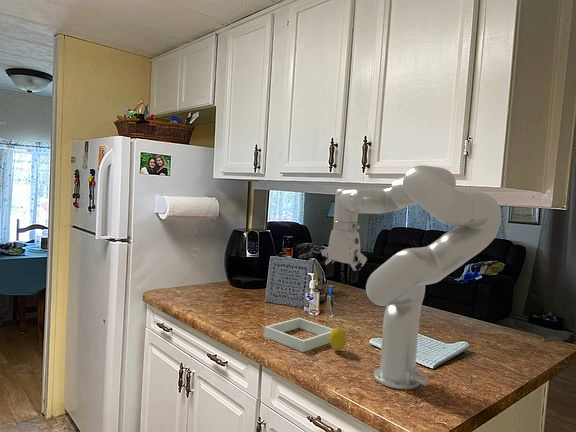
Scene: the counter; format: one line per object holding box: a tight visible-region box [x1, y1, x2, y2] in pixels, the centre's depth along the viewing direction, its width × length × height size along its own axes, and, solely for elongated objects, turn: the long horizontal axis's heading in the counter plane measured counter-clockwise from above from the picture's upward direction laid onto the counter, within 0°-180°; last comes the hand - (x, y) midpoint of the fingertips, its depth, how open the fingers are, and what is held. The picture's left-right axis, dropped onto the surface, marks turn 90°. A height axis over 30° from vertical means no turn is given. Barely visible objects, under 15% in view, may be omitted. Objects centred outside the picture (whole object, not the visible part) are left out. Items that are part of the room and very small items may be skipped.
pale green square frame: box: [263, 317, 334, 353], centre depth 149 cm, size 18×18×4 cm
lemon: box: [329, 326, 347, 352], centre depth 139 cm, size 6×6×8 cm
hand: (341, 279), depth 139 cm, fingers open, 9 cm apart
